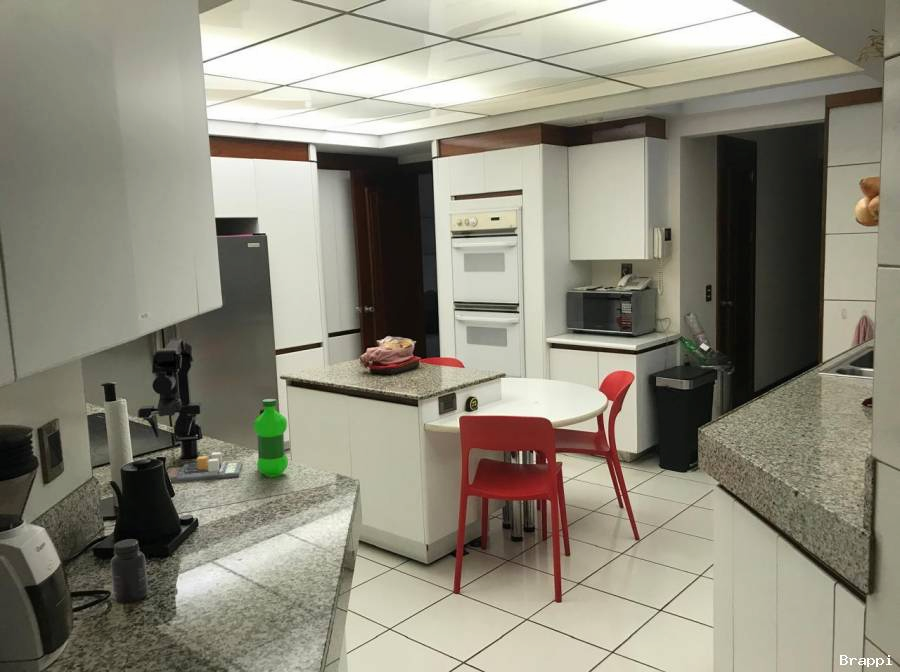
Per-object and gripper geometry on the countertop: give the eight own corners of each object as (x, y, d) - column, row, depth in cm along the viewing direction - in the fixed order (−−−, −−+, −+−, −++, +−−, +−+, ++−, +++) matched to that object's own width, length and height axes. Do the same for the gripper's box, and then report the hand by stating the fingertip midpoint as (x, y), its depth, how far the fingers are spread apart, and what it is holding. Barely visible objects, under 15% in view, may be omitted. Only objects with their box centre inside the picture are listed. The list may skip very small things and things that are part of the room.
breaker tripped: (199, 468, 241) (198, 456, 241) (208, 468, 242) (207, 456, 242) (197, 471, 239) (196, 459, 238) (207, 470, 239) (206, 458, 239)
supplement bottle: (138, 586, 160) (134, 534, 158) (154, 594, 156) (150, 541, 154) (107, 598, 155) (102, 544, 153) (123, 607, 150) (118, 552, 149)
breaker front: (209, 471, 238) (209, 459, 238) (219, 470, 239) (218, 458, 238) (208, 474, 236) (207, 461, 235) (218, 473, 236) (217, 460, 236)
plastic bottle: (265, 481, 231) (260, 405, 228) (252, 474, 239) (248, 399, 236) (294, 475, 237) (290, 400, 234) (281, 468, 245) (277, 395, 242)
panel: (169, 471, 244) (168, 465, 244) (242, 465, 249) (242, 459, 249) (161, 483, 232) (161, 476, 232) (238, 476, 237) (238, 470, 236)
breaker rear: (213, 464, 246) (212, 452, 246) (222, 463, 247) (221, 451, 246) (212, 466, 243) (211, 454, 243) (221, 466, 244) (220, 454, 243)
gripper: (132, 395, 222) (136, 444, 223) (195, 391, 225) (199, 440, 227) (140, 388, 232) (144, 436, 234) (201, 385, 236) (204, 431, 238)
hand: (172, 436), depth 233 cm, fingers open, 9 cm apart
